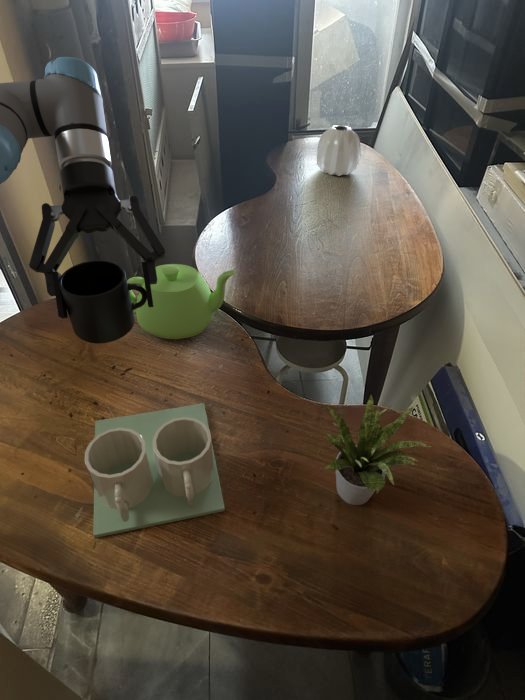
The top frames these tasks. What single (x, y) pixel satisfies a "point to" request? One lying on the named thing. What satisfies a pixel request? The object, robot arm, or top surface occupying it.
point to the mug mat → (155, 478)
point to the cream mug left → (111, 453)
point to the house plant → (367, 455)
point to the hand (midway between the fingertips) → (107, 311)
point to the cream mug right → (180, 440)
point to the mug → (99, 300)
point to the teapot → (178, 302)
